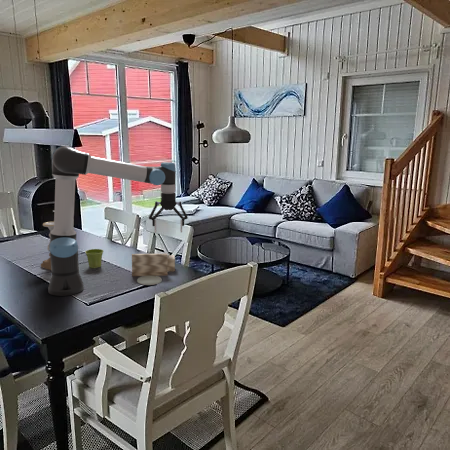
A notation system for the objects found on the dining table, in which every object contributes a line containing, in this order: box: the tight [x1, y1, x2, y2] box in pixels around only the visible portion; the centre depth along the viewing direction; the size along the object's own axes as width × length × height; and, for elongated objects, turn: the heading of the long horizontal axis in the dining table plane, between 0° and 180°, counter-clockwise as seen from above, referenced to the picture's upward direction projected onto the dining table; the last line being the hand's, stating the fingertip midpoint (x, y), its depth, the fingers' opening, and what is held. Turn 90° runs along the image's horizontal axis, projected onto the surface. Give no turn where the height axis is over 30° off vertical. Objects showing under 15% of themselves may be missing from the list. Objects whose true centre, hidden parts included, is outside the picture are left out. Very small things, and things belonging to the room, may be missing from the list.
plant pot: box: [85, 248, 104, 269], centre depth 215 cm, size 9×9×9 cm
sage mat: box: [136, 275, 163, 286], centre depth 198 cm, size 12×12×1 cm
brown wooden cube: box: [167, 254, 176, 272], centre depth 215 cm, size 7×7×7 cm
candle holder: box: [40, 220, 54, 271], centre depth 212 cm, size 11×11×24 cm
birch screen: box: [131, 253, 169, 277], centre depth 205 cm, size 18×4×11 cm, turn 99°
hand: (168, 232), depth 211 cm, fingers open, 13 cm apart
